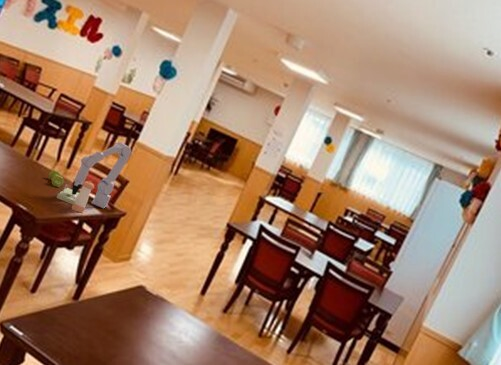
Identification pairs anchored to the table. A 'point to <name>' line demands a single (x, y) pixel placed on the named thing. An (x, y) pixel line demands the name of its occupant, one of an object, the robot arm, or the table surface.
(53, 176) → the dumbbell
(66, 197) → the pale green box
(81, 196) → the pepper shaker
